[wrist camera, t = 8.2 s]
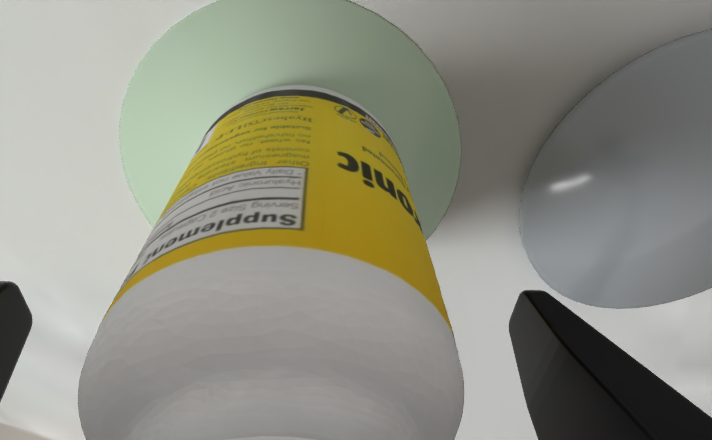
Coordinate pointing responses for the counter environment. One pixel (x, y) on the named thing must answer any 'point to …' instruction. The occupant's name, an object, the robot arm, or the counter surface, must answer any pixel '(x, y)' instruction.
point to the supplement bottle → (280, 292)
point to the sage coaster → (281, 68)
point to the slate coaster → (629, 185)
